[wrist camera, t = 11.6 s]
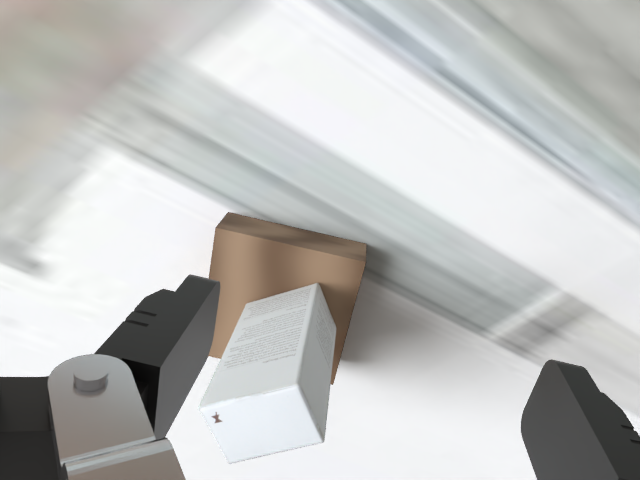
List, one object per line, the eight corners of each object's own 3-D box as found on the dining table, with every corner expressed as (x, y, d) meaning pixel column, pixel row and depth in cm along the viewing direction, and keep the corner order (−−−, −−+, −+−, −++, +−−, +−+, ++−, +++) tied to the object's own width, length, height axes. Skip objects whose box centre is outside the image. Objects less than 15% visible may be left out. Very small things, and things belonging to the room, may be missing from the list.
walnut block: (366, 241, 40) (365, 262, 36) (336, 355, 44) (333, 384, 41) (230, 209, 40) (215, 227, 37) (212, 327, 44) (198, 353, 41)
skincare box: (266, 348, 40) (225, 467, 29) (245, 301, 39) (193, 407, 28) (340, 328, 39) (326, 445, 28) (320, 280, 37) (297, 382, 26)
